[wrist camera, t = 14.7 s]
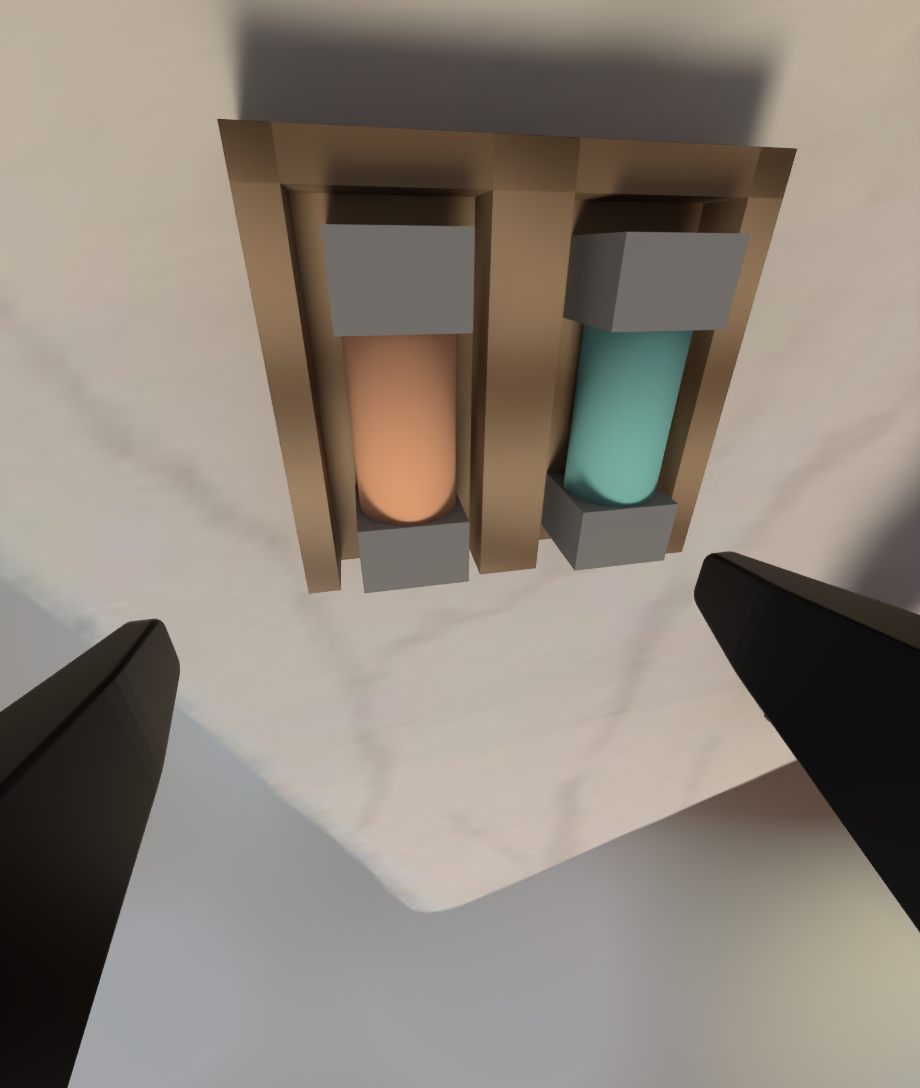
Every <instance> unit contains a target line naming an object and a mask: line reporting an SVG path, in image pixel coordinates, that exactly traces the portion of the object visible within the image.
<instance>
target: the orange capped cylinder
mask: <svg viewBox="0 0 920 1088" xmlns="http://www.w3.org/2000/svg"><path fill="white" fill-rule="evenodd" d="M320 226H321V234H322V243H323V251H324V259H325V268H326V276H327V284H328V293H329V301H330V309H331V318H332V326H333V334H334V337H338V336H341V340H342V349H343V357H344V366H345V375H346V384H347V393H348V402H349V411H350V420H351V429H352V437H353V446H354V455H355V464H356V473H357V482H358V485H357V486H355V494H356V516H357V534H358V543H359V551H360V559H361V568H362V576H363V584H364V593H371V592H380V591H388V590H397V589H406V588H414V587H423V586H432V585H440V584H449V583H458V582H467V581H469V529H470V522H469V519H468V517H467V515H466V513H465V511H464V509H463V506H462V504H461V502H460V500H459V498H458V496H457V494H456V334H465V333H473V305H474V249H475V227H471V226H407V225H343V224H320Z"/></svg>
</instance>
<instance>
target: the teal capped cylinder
mask: <svg viewBox="0 0 920 1088" xmlns="http://www.w3.org/2000/svg"><path fill="white" fill-rule="evenodd" d="M749 238H750V234H745V233H676V232H616V233H601V234H587V235H572V236H571V244H570V253H569V263H568V272H567V282H566V291H565V301H564V311H563V318H566V319H569V320H572V321H576V322H579V323H582V324H584V327H583V335H582V343H581V351H580V359H579V367H578V375H577V383H576V391H575V399H574V407H573V414H572V422H571V430H570V438H569V446H568V454H567V462H566V470H565V471H558V472H547V473H546V482H545V492H544V501H543V511H542V520H541V524H542V526H543V527H544V529H545V530H546V531H547V533H548V534H549V536H550V537H551V538H552V540H553V541H554V543H555V544H556V545H557V547H558V548H559V549H560V551H561V552H562V554H563V555H564V556H565V558H566V559H567V561H568V562H569V563H570V565H571V566H572V568H573V569H574V570H583V569H592V568H600V567H609V566H618V565H626V564H635V563H644V562H652V561H661V560H664V558H665V554H666V550H667V546H668V542H669V539H670V535H671V531H672V527H673V524H674V520H675V516H676V512H677V509H678V505H679V504H678V503H677V502H675V501H674V500H673V499H672V498H670V497H669V496H668V495H666V494H665V493H664V492H662V491H661V490H660V489H658V488H657V487H656V486H657V482H658V478H659V473H660V469H661V465H662V460H663V456H664V452H665V448H666V443H667V439H668V435H669V431H670V426H671V422H672V418H673V414H674V409H675V405H676V401H677V396H678V392H679V388H680V384H681V379H682V375H683V371H684V367H685V362H686V358H687V354H688V350H689V345H690V341H691V337H692V332H693V330H725V328H726V324H727V320H728V317H729V313H730V309H731V305H732V302H733V298H734V294H735V290H736V287H737V283H738V279H739V275H740V272H741V268H742V264H743V260H744V256H745V253H746V249H747V245H748V241H749Z"/></svg>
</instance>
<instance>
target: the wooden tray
mask: <svg viewBox="0 0 920 1088" xmlns="http://www.w3.org/2000/svg"><path fill="white" fill-rule="evenodd" d="M218 125H219V130H220V135H221V140H222V145H223V151H224V156H225V161H226V166H227V171H228V176H229V182H230V187H231V192H232V197H233V202H234V208H235V213H236V218H237V223H238V228H239V233H240V239H241V244H242V249H243V254H244V259H245V265H246V270H247V275H248V280H249V285H250V290H251V296H252V301H253V306H254V311H255V316H256V322H257V327H258V332H259V337H260V342H261V347H262V353H263V358H264V363H265V368H266V373H267V379H268V384H269V389H270V394H271V399H272V405H273V410H274V415H275V420H276V425H277V430H278V436H279V441H280V446H281V451H282V456H283V462H284V467H285V472H286V477H287V482H288V487H289V493H290V498H291V503H292V508H293V513H294V519H295V524H296V529H297V534H298V539H299V544H300V550H301V555H302V560H303V565H304V570H305V576H306V581H307V586H308V591H309V594H310V593H319V592H327V591H336V590H341V560H345V559H355V558H360V551H359V543H358V534H357V516H356V494H355V486H357V485H358V482H357V473H356V464H355V455H354V446H353V437H352V429H351V420H350V411H349V402H348V393H347V384H346V375H345V366H344V357H343V349H342V340H341V336H338V337H334V334H333V326H332V318H331V309H330V301H329V293H328V284H327V276H326V268H325V259H324V251H323V243H322V234H321V226H320V224H343V225H407V226H471V227H475V249H474V305H473V333H465V334H456V494H457V496H458V498H459V500H460V502H461V504H462V506H463V509H464V511H465V513H466V515H467V517H468V519H469V522H470V529H469V549H470V551H471V554H472V556H473V558H474V561H475V563H476V566H477V568H478V570H479V573H480V574H488V573H497V572H506V571H515V570H523V569H532V568H536V562H537V552H538V543H539V540H542V539H551V537H550V536H549V534H548V533H547V531H546V530H545V529H544V527H543V526H542V524H541V520H542V511H543V501H544V492H545V482H546V473H547V472H558V471H565V470H566V462H567V454H568V446H569V438H570V430H571V422H572V414H573V407H574V399H575V391H576V383H577V375H578V367H579V359H580V351H581V343H582V335H583V327H584V324H582V323H579V322H576V321H572V320H569V319H566V318H563V311H564V301H565V291H566V282H567V272H568V263H569V253H570V244H571V236H572V235H587V234H601V233H616V232H676V233H745V234H750V238H749V241H748V245H747V249H746V253H745V256H744V260H743V264H742V268H741V272H740V275H739V279H738V283H737V287H736V290H735V294H734V298H733V302H732V305H731V309H730V313H729V317H728V320H727V324H726V328H725V330H693V332H692V337H691V341H690V345H689V350H688V354H687V358H686V362H685V367H684V371H683V375H682V379H681V384H680V388H679V392H678V396H677V401H676V405H675V409H674V414H673V418H672V422H671V426H670V431H669V435H668V439H667V443H666V448H665V452H664V456H663V460H662V465H661V469H660V473H659V478H658V482H657V486H656V487H657V488H658V489H660V490H661V491H662V492H664V493H665V494H666V495H668V496H669V497H670V498H672V499H673V500H674V501H675V502H677V503H678V504H679V505H678V509H677V512H676V516H675V520H674V524H673V527H672V531H671V535H670V539H669V542H668V546H667V550H666V553H675V552H682V549H683V546H684V542H685V539H686V535H687V532H688V528H689V525H690V521H691V518H692V514H693V511H694V507H695V504H696V500H697V497H698V493H699V490H700V486H701V483H702V479H703V476H704V472H705V469H706V465H707V462H708V458H709V455H710V451H711V448H712V444H713V441H714V437H715V434H716V430H717V427H718V423H719V420H720V416H721V413H722V409H723V406H724V402H725V399H726V395H727V392H728V388H729V385H730V381H731V378H732V374H733V371H734V368H735V364H736V361H737V357H738V354H739V350H740V347H741V343H742V340H743V336H744V333H745V329H746V326H747V322H748V319H749V315H750V312H751V308H752V305H753V301H754V298H755V294H756V291H757V287H758V284H759V280H760V277H761V273H762V270H763V266H764V263H765V259H766V256H767V252H768V249H769V245H770V242H771V238H772V235H773V231H774V228H775V224H776V221H777V217H778V214H779V210H780V207H781V203H782V200H783V196H784V193H785V189H786V186H787V182H788V179H789V175H790V172H791V168H792V165H793V161H794V158H795V154H796V151H797V149H793V148H774V147H754V146H735V145H715V144H696V143H676V142H657V141H637V140H618V139H598V138H579V137H559V136H540V135H520V134H501V133H481V132H462V131H442V130H423V129H403V128H384V127H364V126H345V125H325V124H306V123H286V122H267V121H247V120H228V119H218Z"/></svg>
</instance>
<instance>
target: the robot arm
mask: <svg viewBox="0 0 920 1088" xmlns="http://www.w3.org/2000/svg"><path fill="white" fill-rule="evenodd" d="M694 599H695V602H696V605H697V606H698V608H699V610H700V612H701V613H702V615H703V617H704V619H705V620H706V622H707V624H708V626H709V627H710V629H711V631H712V633H713V634H714V636H715V638H716V639H717V641H718V643H719V645H720V646H721V648H722V650H723V652H724V653H725V655H726V657H727V659H728V660H729V662H730V664H731V665H732V667H733V669H734V670H735V672H736V674H737V675H738V677H739V678H740V680H741V681H742V683H743V684H744V686H745V687H746V688H747V690H748V691H749V693H750V694H751V695H752V697H753V698H754V700H755V701H756V702H757V704H758V705H759V707H760V708H761V710H762V711H763V712H764V717H765V718H766V719H767V720H768V721H769V722H771V724H772V725H773V726H774V728H775V729H776V731H777V732H778V733H779V735H780V736H781V738H782V739H783V741H784V742H785V743H786V745H787V746H788V748H789V749H790V750H791V752H792V753H793V755H794V756H795V757H796V759H797V760H798V762H799V763H800V764H801V766H802V767H803V769H804V770H805V771H806V773H807V774H808V776H809V777H810V779H811V780H812V781H813V783H814V784H815V786H816V787H817V788H818V790H819V791H820V792H821V794H822V795H823V797H824V798H825V800H826V801H827V802H828V804H829V805H830V807H831V808H832V809H833V811H834V812H835V814H836V815H837V817H838V818H839V819H840V821H841V822H842V824H843V825H844V826H845V828H846V829H847V831H848V832H849V833H850V835H851V836H852V837H853V839H854V840H855V842H856V843H857V845H858V846H859V847H860V849H861V850H862V852H863V853H864V855H865V856H866V857H867V859H868V860H869V862H870V863H871V864H872V866H873V867H874V869H875V870H876V871H877V873H878V874H879V875H880V877H881V878H882V880H883V881H884V883H885V884H886V885H887V887H888V888H889V890H890V891H891V893H892V894H893V895H894V897H895V898H896V899H897V901H898V902H899V903H900V905H901V907H902V908H903V909H904V911H905V912H906V914H907V915H908V916H909V918H910V919H911V921H912V922H913V923H914V925H915V926H916V928H917V929H918V930H919V932H920V615H918V614H915V613H912V612H909V611H906V610H904V609H901V608H898V607H895V606H892V605H889V604H886V603H883V602H880V601H877V600H874V599H871V598H868V597H865V596H862V595H859V594H856V593H853V592H850V591H847V590H844V589H841V588H838V587H836V586H833V585H830V584H827V583H824V582H821V581H818V580H815V579H812V578H809V577H806V576H803V575H800V574H797V573H794V572H791V571H788V570H785V569H782V568H779V567H776V566H773V565H771V564H768V563H765V562H762V561H759V560H756V559H753V558H750V557H747V556H744V555H741V554H738V553H735V552H729V551H728V552H719V553H712V554H709V555H708V556H707V557H706V558H705V559H704V561H703V564H702V567H701V571H700V574H699V577H698V580H697V583H696V586H695V590H694ZM179 675H180V664H179V659H178V656H177V654H176V651H175V649H174V646H173V644H172V642H171V639H170V637H169V634H168V632H167V629H166V627H165V625H164V623H163V622H162V621H161V620H158V619H147V620H138V621H131V622H128V623H126V624H124V625H123V626H121V627H120V628H118V629H117V630H116V631H114V632H113V633H111V634H110V635H109V636H107V637H106V638H104V639H103V640H101V641H100V642H99V643H97V644H96V645H94V646H93V647H92V648H90V649H89V650H87V651H86V652H85V653H83V654H82V655H80V656H79V657H77V658H76V659H75V660H73V661H72V662H70V663H69V664H68V665H66V666H65V667H63V668H62V669H60V670H59V671H58V672H56V673H55V674H54V675H52V676H51V677H49V678H48V679H46V680H45V681H44V682H42V683H41V684H40V685H38V686H36V687H35V688H34V689H32V690H31V691H29V692H28V693H27V694H25V695H24V696H22V697H21V698H19V699H18V700H17V701H15V702H14V703H12V704H11V705H10V706H8V707H7V708H5V709H4V710H3V711H1V712H0V1088H67V1087H68V1084H69V1081H70V1077H71V1074H72V1071H73V1067H74V1064H75V1061H76V1057H77V1054H78V1051H79V1048H80V1044H81V1041H82V1038H83V1034H84V1031H85V1027H86V1024H87V1021H88V1018H89V1014H90V1011H91V1007H92V1004H93V1001H94V998H95V994H96V991H97V988H98V984H99V981H100V978H101V974H102V971H103V968H104V964H105V961H106V958H107V954H108V951H109V948H110V944H111V941H112V937H113V935H114V931H115V928H116V924H117V921H118V918H119V914H120V911H121V908H122V905H123V901H124V898H125V895H126V891H127V888H128V885H129V881H130V878H131V875H132V871H133V868H134V865H135V861H136V858H137V855H138V851H139V848H140V844H141V841H142V838H143V835H144V832H145V828H146V825H147V821H148V818H149V815H150V811H151V808H152V805H153V802H154V798H155V794H156V792H157V788H158V784H159V781H160V777H161V773H162V769H163V765H164V760H165V755H166V749H167V744H168V738H169V732H170V727H171V721H172V715H173V710H174V704H175V698H176V693H177V687H178V681H179Z"/></svg>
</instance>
